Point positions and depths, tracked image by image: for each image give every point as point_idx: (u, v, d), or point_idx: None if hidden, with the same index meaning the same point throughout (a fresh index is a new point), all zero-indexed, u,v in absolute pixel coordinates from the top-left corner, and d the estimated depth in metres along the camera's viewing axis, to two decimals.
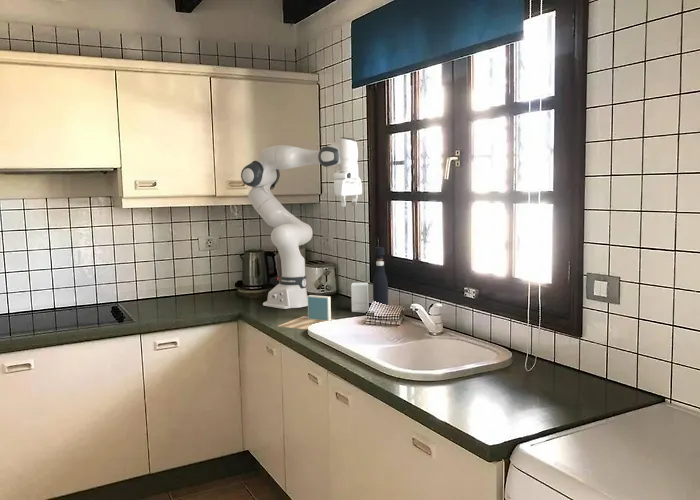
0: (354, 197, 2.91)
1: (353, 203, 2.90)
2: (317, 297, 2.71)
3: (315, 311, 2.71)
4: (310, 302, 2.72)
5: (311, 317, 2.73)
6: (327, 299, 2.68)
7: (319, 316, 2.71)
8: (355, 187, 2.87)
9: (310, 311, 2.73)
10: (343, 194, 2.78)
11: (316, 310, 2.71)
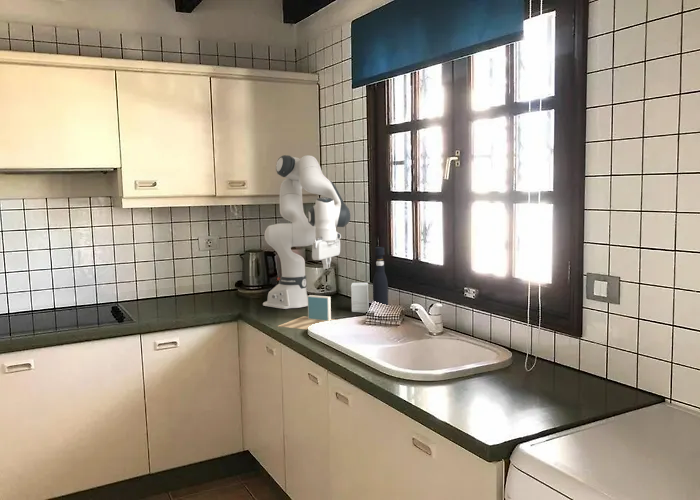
0: None
1: None
2: (317, 297, 2.71)
3: (315, 311, 2.71)
4: (310, 302, 2.72)
5: (311, 317, 2.73)
6: (327, 299, 2.68)
7: (319, 316, 2.71)
8: None
9: (310, 311, 2.73)
10: None
11: (316, 310, 2.71)
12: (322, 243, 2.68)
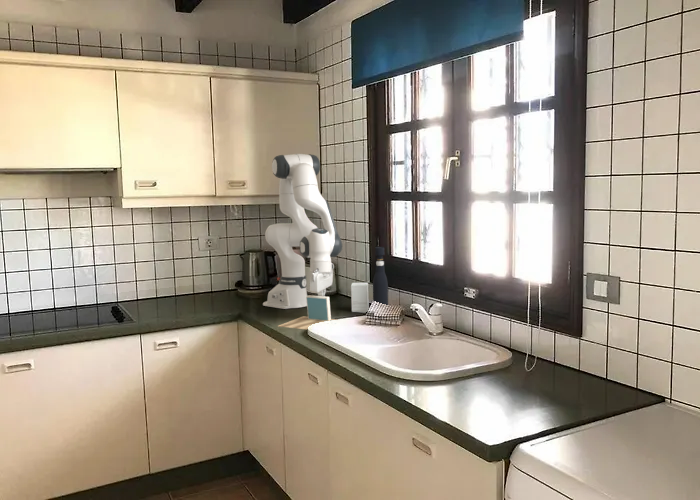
0: None
1: None
2: (316, 298, 2.70)
3: (315, 311, 2.71)
4: (309, 302, 2.71)
5: (311, 317, 2.73)
6: (326, 299, 2.67)
7: (318, 316, 2.71)
8: None
9: (310, 311, 2.72)
10: None
11: (315, 310, 2.71)
12: (319, 275, 2.64)
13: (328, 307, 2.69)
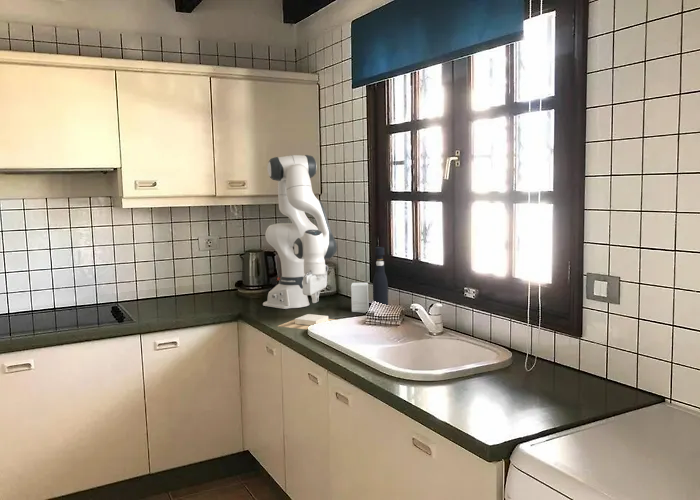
0: None
1: None
2: None
3: None
4: None
5: None
6: None
7: None
8: None
9: None
10: None
11: None
12: (312, 277, 2.60)
13: (321, 321, 2.64)
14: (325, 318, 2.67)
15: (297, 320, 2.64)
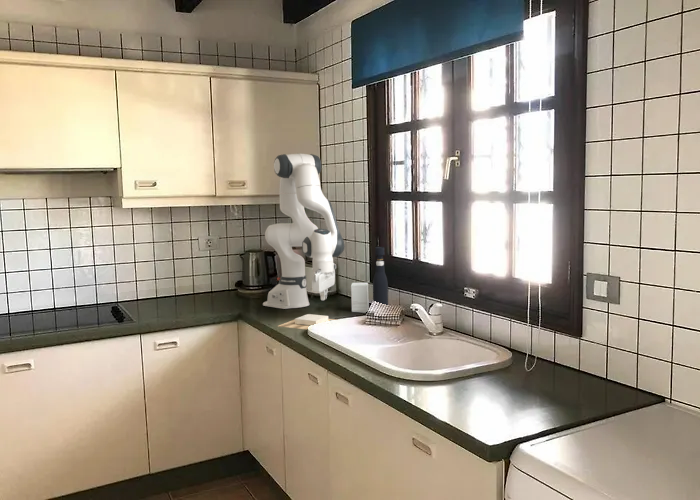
0: None
1: None
2: None
3: None
4: None
5: None
6: None
7: None
8: None
9: None
10: None
11: None
12: (321, 276, 2.67)
13: (321, 321, 2.64)
14: (325, 318, 2.67)
15: (297, 320, 2.64)
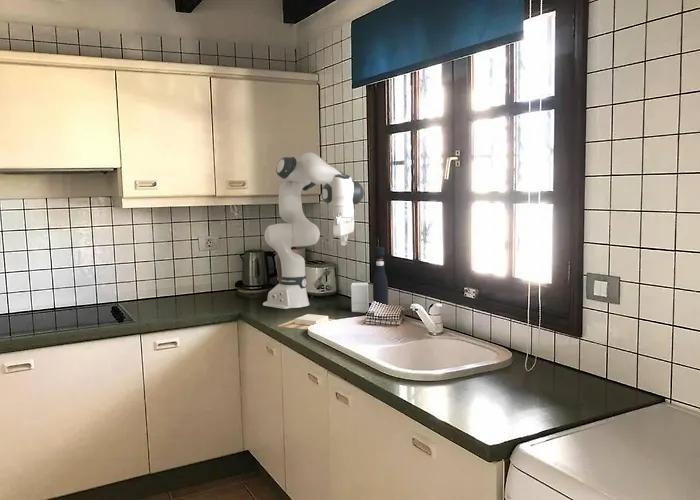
0: None
1: None
2: None
3: None
4: None
5: None
6: None
7: None
8: None
9: None
10: None
11: None
12: (342, 219, 2.68)
13: (321, 321, 2.64)
14: (325, 318, 2.67)
15: (297, 320, 2.64)
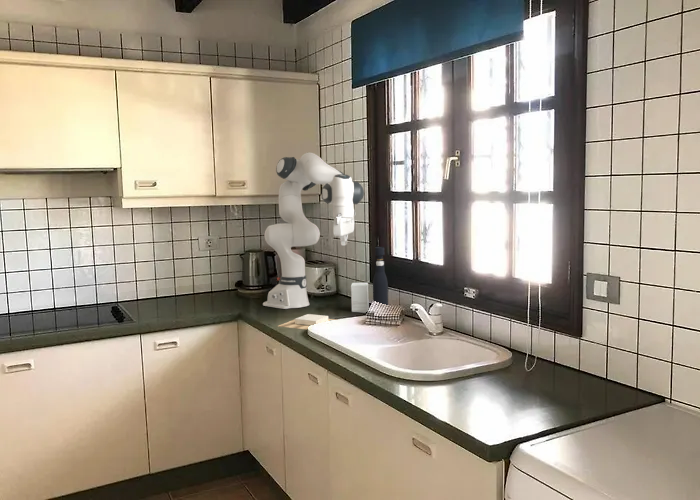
0: None
1: None
2: None
3: None
4: None
5: None
6: None
7: None
8: None
9: None
10: None
11: None
12: (342, 219, 2.68)
13: (321, 321, 2.64)
14: (325, 318, 2.67)
15: (297, 320, 2.64)
